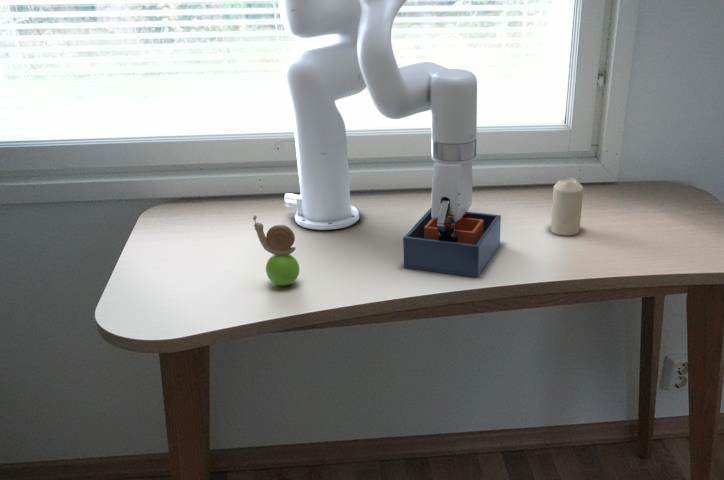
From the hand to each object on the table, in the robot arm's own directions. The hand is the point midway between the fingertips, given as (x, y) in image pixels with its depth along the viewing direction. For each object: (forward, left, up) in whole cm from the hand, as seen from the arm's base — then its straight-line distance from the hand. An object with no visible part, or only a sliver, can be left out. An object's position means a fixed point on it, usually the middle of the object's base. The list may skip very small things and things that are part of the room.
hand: (454, 249), depth 148 cm
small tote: (0, 0, -1) cm, 1 cm away
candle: (+17, +18, -1) cm, 25 cm away
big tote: (0, 0, -1) cm, 1 cm away
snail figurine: (-24, -20, -1) cm, 31 cm away
